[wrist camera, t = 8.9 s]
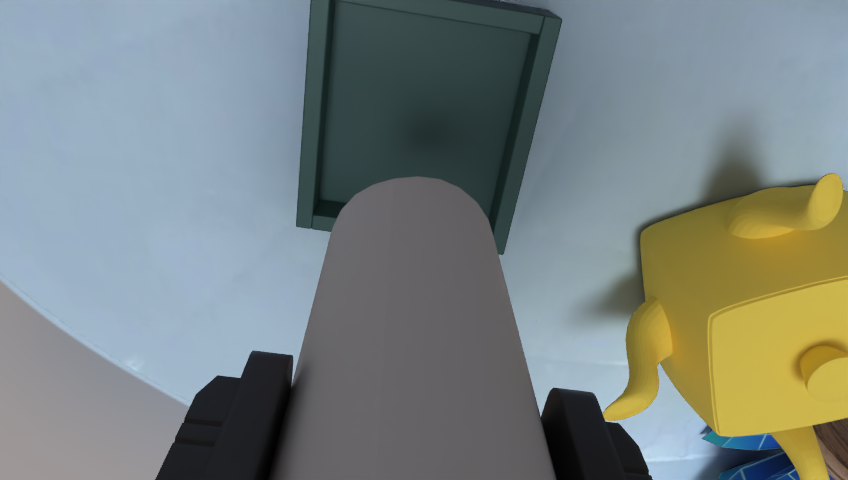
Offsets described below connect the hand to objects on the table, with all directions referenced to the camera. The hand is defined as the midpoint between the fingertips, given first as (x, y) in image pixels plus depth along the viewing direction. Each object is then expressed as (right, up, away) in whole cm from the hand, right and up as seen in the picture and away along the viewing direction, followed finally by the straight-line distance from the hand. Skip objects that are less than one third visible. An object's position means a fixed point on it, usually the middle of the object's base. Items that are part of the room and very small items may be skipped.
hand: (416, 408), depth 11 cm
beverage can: (0, +3, +7) cm, 8 cm away
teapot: (+18, +2, +23) cm, 29 cm away
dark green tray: (0, +10, +19) cm, 21 cm away
